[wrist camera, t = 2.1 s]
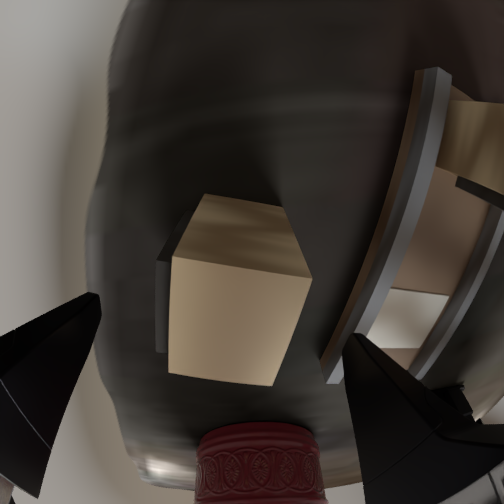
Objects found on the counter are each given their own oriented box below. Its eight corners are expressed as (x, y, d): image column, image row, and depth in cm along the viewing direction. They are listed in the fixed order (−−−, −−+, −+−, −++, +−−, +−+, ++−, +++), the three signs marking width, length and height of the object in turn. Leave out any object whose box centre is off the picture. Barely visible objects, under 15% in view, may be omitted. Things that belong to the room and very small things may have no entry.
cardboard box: (282, 207, 14) (312, 278, 8) (262, 289, 16) (272, 385, 10) (193, 191, 14) (151, 252, 8) (183, 276, 16) (153, 369, 10)
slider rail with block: (411, 361, 20) (448, 432, 13) (319, 360, 19) (344, 456, 12) (506, 132, 12) (592, 159, 5) (415, 70, 11) (526, 59, 4)
